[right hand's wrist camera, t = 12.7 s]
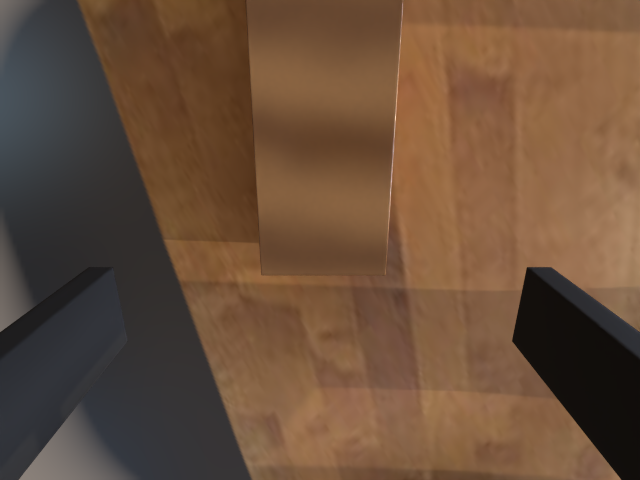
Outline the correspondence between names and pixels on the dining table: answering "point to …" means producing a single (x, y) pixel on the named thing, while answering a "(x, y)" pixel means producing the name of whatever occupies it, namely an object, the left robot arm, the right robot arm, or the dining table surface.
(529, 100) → the dining table surface
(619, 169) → the dining table surface
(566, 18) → the dining table surface
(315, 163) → the wooden beam
